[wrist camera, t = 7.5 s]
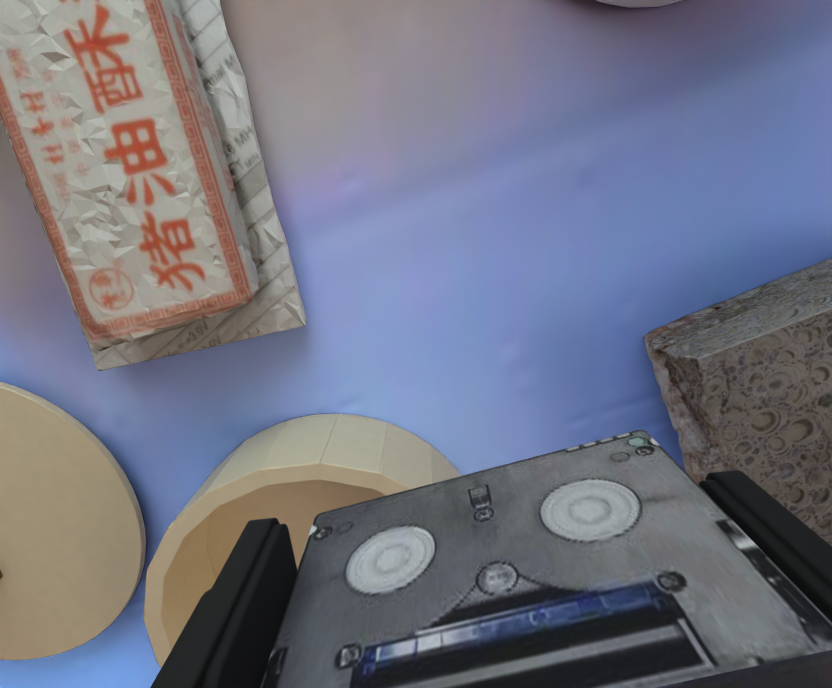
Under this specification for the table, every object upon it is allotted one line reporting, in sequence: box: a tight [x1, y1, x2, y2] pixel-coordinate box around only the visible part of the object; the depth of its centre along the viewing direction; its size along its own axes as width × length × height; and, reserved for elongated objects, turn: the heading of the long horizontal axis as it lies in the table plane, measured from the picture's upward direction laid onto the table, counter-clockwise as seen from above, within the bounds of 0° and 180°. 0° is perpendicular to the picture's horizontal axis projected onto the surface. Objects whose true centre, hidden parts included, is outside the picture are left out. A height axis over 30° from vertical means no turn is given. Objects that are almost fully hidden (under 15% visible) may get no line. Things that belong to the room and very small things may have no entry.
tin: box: [144, 414, 462, 668], centre depth 25 cm, size 16×16×5 cm
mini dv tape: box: [260, 430, 832, 688], centre depth 10 cm, size 8×2×6 cm, turn 107°
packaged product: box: [0, 0, 307, 371], centre depth 20 cm, size 18×5×10 cm
